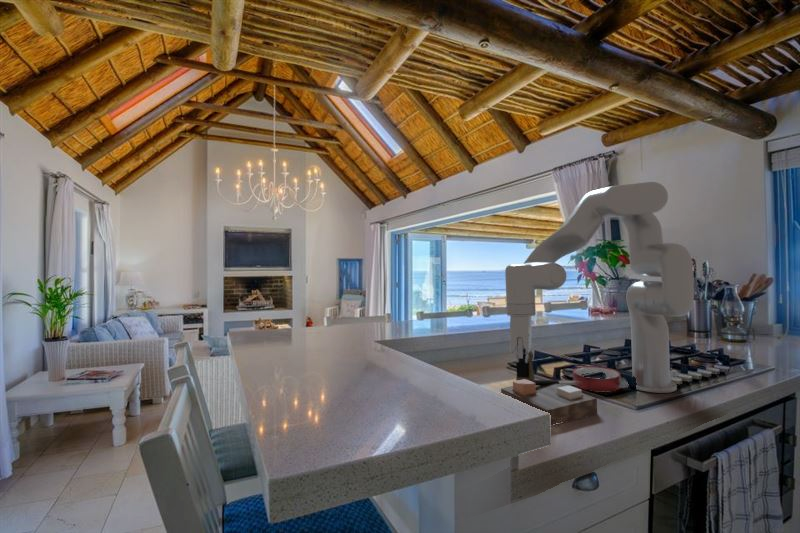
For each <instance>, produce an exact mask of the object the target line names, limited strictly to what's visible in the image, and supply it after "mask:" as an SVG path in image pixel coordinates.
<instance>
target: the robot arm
mask: <svg viewBox="0 0 800 533" xmlns="http://www.w3.org/2000/svg"><path fill="white" fill-rule="evenodd" d="M668 199H669V195H668V191H667V188H666V187H665V186H664V185H663V184H661V183H659V182H657V181H647V182H646V181H645V182H637V183H629V184H617V185H611V186H607V187H602V188H598V189H595V190H591V191H588V192H587V193H585V195H584V196H583V197H582V198H581V199H580V200H579V201H578V203H577V204H576V205H575V207H574V208H573V209H572V211H571V213H570V214H568V216H567V218H566V219H565V221H564V222H563V223H562V225H561V226H560V227H559V228H558V229H557V230H556V231H554V232H553V233H552V234H550V235H549V236H548V237H547V238H546V239H544V240H543V241H542V242H541V243H540V244H538V245H537V246H536V247H534V250H532V252H531V253H530V254H529V256H528V257H527V258H526V260H525V261H524V262H523V263H514V264H513V263H512V264H508V265H507V266H506V267H505V275H504V276H505V296H506V297H505V299H506V301H505V302H506V303H505V304H506V315H507V316H509V319H510V320H509V352H510V353H511V354H514V352H515V351H516V352H515V357H516V356H517V358H516V364H515V365H516V377H524V378H529V375H530V373H529V362H528V353H529V351H531V348H532V339H533V338H532V336H533V334H532V332H533V331H532V317H535V316H536V312H537V311H536V309H537V308H536V290H546V291H551V290H552V291H553V290H557V289H559V288H561V287H562V286H564V284H565V282H566V280H567V272H566V270H565V268H564V267H563V266H562V265H560V264H559V263H556V262H558V261H559V260H560V259H562V258H564V257H565V256H567V255H569V254H572V253H574V252H576V251H579V250H581V249H582V248H584V247H586V246H587V245H588V244H589V242H590V240H592V238H593V237H594V235H595V234H596V232H597V231H598V230H599V228H600V227H601V226H602V224H603V223H604V221H605V220H607V219H613V218H618V220H620V221H621V222H622V224H624V226H625V228H626V231H627V236H628V247H629V248H628V250H629V254H628V255H629V266H630V268H631V270H632V273H633V274H635V275H637V276H642V277H651V278H652V277H656V278H658V277H659V278H661V281H659V280H639V281H635V282H633V283H632V284H630V285H629V286H628V287H627V290H626V293H625V294H626V295H625V301H626V304H627V310H628V312H629V313H628V314H629V318H630V319H629V321H630V337H631V338H630V340H631V367H632V368H631V370H632V377H633V376H634V377H635V378H636V383H637V385H636V389H635V390H637V391H641V392H642V391H643V392H645V393H658V394H668V393H673V392H676V391H677V390H678V388H677V387H678V385H677V384H676V383H675V382H674V381H672V379H673V378H675V377H678V376H680V375H679V372H678V370H677V369H673V370H671V368H670V366H671V365H670V364H671V362H670V361H671V360H670V338H669V336H670V332H669V325H668V322H667V320H666V318H665V316H667V317H674V318H675V317H676V318H677V317H678V318H679V317H684V316H686V315H688V314H689V312H690V311H691V310H692V309H693V305H694V299H695V292H694V291H695V290H694V288H695V286H694V266H693V258H692V256H691V253H690V252H689V250H688V249H687V248H686V247H685V246H684V245H682V244H679V243H674V242H672V243H671V242H668V243H667V242H666V243H664V240H663V239H664V238H663V231H662V229H663V228H662V225H661V222H660V220H659V219H658V217H657V216H656V215H655V213H657V212H660V211H661V210H662V209H663V208H665V206H666V205H667V203H668ZM626 384H627V386H629V384H628V382H627V381H626Z"/></svg>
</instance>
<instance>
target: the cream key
mask: <svg viewBox="0 0 800 533" xmlns="http://www.w3.org/2000/svg"><path fill="white" fill-rule="evenodd" d="M563 386H564V387H559V388H557V395H559V396H562V397H564V398H566V399H569V400H571V399H575V398H579V397H582V393H583V390H582V389H580V388H578V387H576V386H572V385H563Z"/></svg>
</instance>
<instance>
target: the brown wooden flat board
mask: <svg viewBox="0 0 800 533" xmlns="http://www.w3.org/2000/svg"><path fill="white" fill-rule="evenodd" d="M544 380H547V378H546V379H544ZM564 386H565V385H560V384H557V383H556V384H551V385H536V393H533V394H528V395H524V396H523V395H521V394H518V393H516V392H514V391H513V385H510V386H505V387H502V388H500V394H501V393H503V394H505V395H508V396H511V397H512V398H514V399H517V400H519V401H521V402H523V403H526V404H528V405H530V406H532V407H535V408H537V409H540V410H542V411H545V412H548V413H550V415H551V425H553V424H556V423H561V422H565V423H567V422H566V421H568V422H571V420H572V421H575V420H579V419H580V420H581V419H583V418H587V417H590V416H594V415H598V398H596V397H594V396H592V395H590V394H586V393H583V392H582V397H579V398H575V399H571V400H569V399H566V398H564V397H562V396H559V395H557V388H559V387H564ZM561 424H562V423H561ZM553 426H554V425H553Z"/></svg>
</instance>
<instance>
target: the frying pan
mask: <svg viewBox="0 0 800 533" xmlns="http://www.w3.org/2000/svg"><path fill="white" fill-rule="evenodd" d="M590 372H603V373H605V374H606V376H607V378H606V379H600V378H590V377H584V376H581V375H582V374H586V373H590ZM531 381H532V382H534V383H535V384H536V385H551V384H556V383H557V384H560V385H562V386H568V385H570V386H572V385H573V386H574V387H575V388H578V389H581V390H582V389H583V390H582V391H586V390H592V391H605V392H606V391H614V390H618V389H619V390H620V389H621V387H622V386H621V373H620V372H619V371H618V370H616V369H613V368H609V367H605V366H598V365H597V366H596V365H585V366H583V365H582V366H578V367H575V368H573V369H572V380H558V379H546V380H545V379H535V380H531ZM619 390H618V391H619Z"/></svg>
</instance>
